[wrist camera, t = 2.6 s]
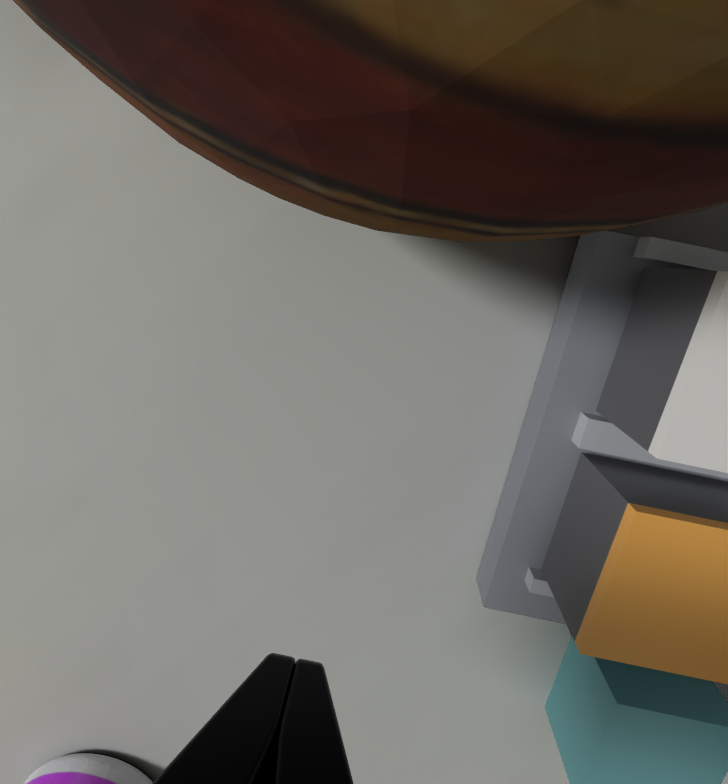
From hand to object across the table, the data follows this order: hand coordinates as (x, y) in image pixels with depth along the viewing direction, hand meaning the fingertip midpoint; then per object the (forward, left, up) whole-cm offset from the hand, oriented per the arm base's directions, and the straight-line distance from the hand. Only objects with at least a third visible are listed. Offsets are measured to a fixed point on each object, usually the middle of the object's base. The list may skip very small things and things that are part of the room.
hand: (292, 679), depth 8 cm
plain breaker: (-9, -5, -8) cm, 13 cm away
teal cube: (-11, +7, -10) cm, 16 cm away
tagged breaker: (-9, 0, -8) cm, 12 cm away
